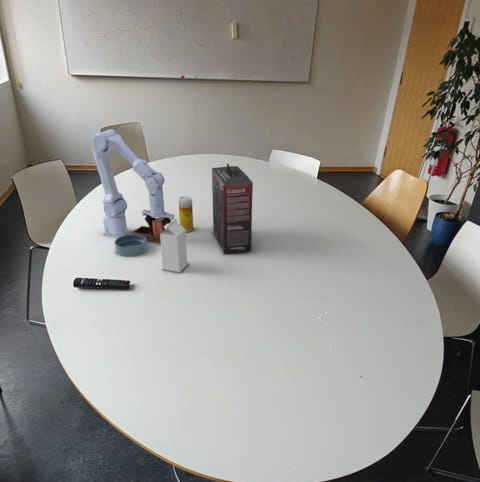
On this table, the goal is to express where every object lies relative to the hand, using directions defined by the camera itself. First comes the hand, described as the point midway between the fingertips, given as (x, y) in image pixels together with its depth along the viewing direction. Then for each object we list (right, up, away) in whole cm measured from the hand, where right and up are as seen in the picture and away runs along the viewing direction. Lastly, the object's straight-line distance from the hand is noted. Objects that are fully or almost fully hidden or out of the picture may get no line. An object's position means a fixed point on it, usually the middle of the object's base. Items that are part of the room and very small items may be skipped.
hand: (159, 233), depth 189 cm
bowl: (-10, -9, -7) cm, 15 cm away
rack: (-4, -2, +3) cm, 5 cm away
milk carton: (+10, -17, -19) cm, 27 cm away
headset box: (+31, -4, +2) cm, 31 cm away
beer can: (+10, +3, +12) cm, 16 cm away
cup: (0, -2, +1) cm, 2 cm away
